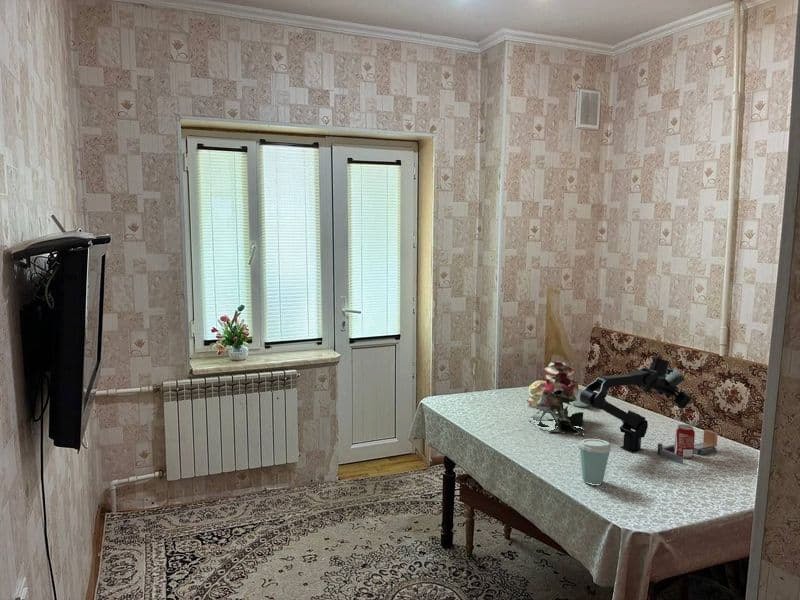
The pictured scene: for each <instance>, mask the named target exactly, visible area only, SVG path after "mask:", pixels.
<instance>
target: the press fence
mask: <svg viewBox="0 0 800 600" xmlns="http://www.w3.org/2000/svg"><path fill="white" fill-rule="evenodd" d="M674 450H675V443H673V444H670V445H665V446H663V443H657V455H658V456H661V457H663V458H665V459H667V460H670V461H673V462H675V463H678V464H683V463H684V458H683V457H682V456H679V455H677V454H675V453H674Z"/></svg>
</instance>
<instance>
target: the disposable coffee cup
mask: <svg viewBox="0 0 800 600" xmlns="http://www.w3.org/2000/svg"><path fill="white" fill-rule="evenodd" d="M579 451H580V452H579V453H580V461H581V462H580V463H581V464H580V465H581V471H582V474H581V475H582V480H583V482H584V481H585V482H588V483H592V484H600V483H602V484H603V483H604V479H605V474H606V470H607V464H608V460H609V457H610V456H609V455H610V452H611V451H612V447H611V444H610V442H609V441H607V440H603V439H600V438H599V439H598V438H585V439H582V440H581V441H580V442H579ZM585 482H584V483H585Z"/></svg>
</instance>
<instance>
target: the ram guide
mask: <svg viewBox="0 0 800 600" xmlns="http://www.w3.org/2000/svg"><path fill="white" fill-rule="evenodd" d="M700 444H705V443H703V442H699V443H694V446H696V445H700ZM714 453H717V446H715V447H710V448H705V449H701V450H700V454H699V456H700V455H701V456H707V455H710V454H711V455H712V454H714Z"/></svg>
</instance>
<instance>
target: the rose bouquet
mask: <svg viewBox="0 0 800 600" xmlns="http://www.w3.org/2000/svg"><path fill="white" fill-rule="evenodd" d="M544 372H545V373H546V375H545V376H544V378H545V380H536V381H534V382H533V383H531V384H530V385H528V386H529V387H528V392H529V393H528V396H530V397H529V398H528V399H526V402H527V403H528V405H527V407H528V408H532V409H536V410H538V411H537V412H536V414H535V415H532V416H531V417H530V418H533V420H536V421H540V422H539V424H537V425H538V426H541V427H549V426H548V425H545V424H543V423H542V422H541V421H553V420H555V422H556V423H557V424H556V426H558V427H557V428H556V429H554V430H551V431H549V432H551V433H553V432H554V433H559V432H566V431H564V430H562V429H561V427H562V424H561V423H564V424H563V425H565V426H567V427H569V428H572V429H573V430H574V431H576V432H575V433H574V432H573V435H576V436H581V437H585V436H584V435H583V433H584V432H582V431H585V430H586V429H585V430H583V429H581V428H576V427H574V426H579V427H581V426H582V427H583V425H584V412H582V411H581V412H574V413H572V414H571V415H570V416H569V415H568V414H569V411H568V407H569V406H570V405H571V406H572V405H573V403H572V402H573V401H577V398H576V396H577V395H578V391H579V388H580V387H579V382H578V381H575V379H574V376H572V375H573V374H574V368H573V367H571V366H569V365H567V364H566V363H565V362H564V361H560V360H559V361H558V360H557V361H551V362H550V363H549V364H548V366H546V367H544ZM564 404H567V406H566V407H565V408H564ZM540 412H542V413H541V415H539V414H540ZM556 412H557V413H556ZM545 414H550V415H551V417H553V418H554V419H549V418H546V417H547V416H545ZM534 423H535V422H534ZM584 426H585V425H584Z"/></svg>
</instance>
